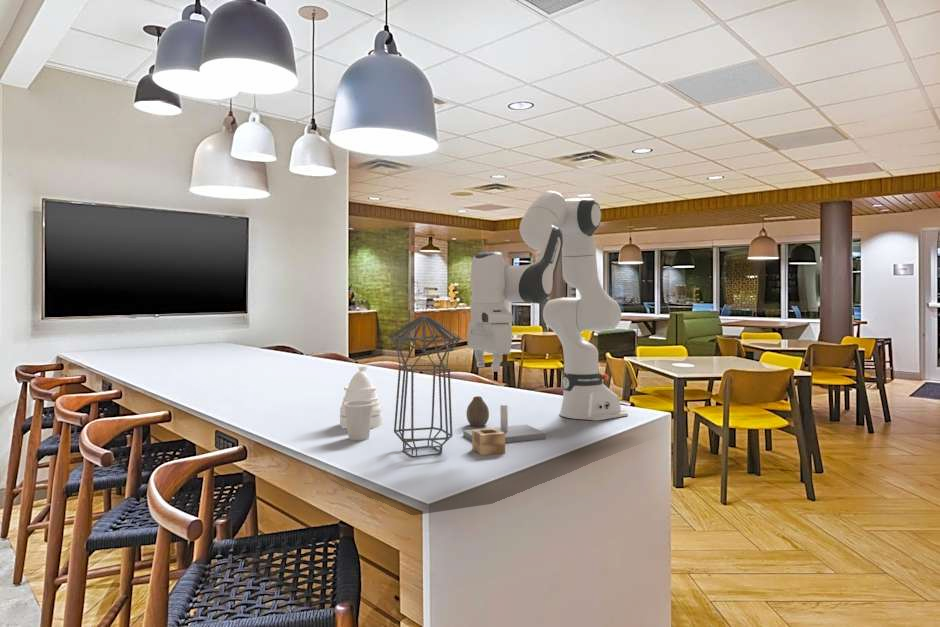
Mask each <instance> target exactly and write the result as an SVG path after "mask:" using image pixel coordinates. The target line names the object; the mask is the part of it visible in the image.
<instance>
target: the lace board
mask: <svg viewBox="0 0 940 627" xmlns="http://www.w3.org/2000/svg"><path fill="white" fill-rule="evenodd" d="M508 408H509V406H508V404H500V410H499V411H500V426H495V427H494V426H493V428H496V429H498V430H500V431H502V432H504V433H505V444H506V443H515V442H525V441H534V440H544V439H546V438H547V434H546V433H547V432H545V431H543V430H541V429H540V430H539V429H538V428H535V427H532V426H530V425H528V424H526V423H525V424H517V425H516V424H514V425H509V424H508V420H509V419H508V414H509V413H508V411H509V410H508ZM489 428H490V427H487V428H483V429H489ZM479 429H480V428H477V429H464V430H463V433H462V434H463V436H464V437H465V438H467V439H468V440H470V441H471V442H472V430H479Z"/></svg>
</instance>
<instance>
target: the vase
mask: <svg viewBox="0 0 940 627" xmlns="http://www.w3.org/2000/svg"><path fill="white" fill-rule="evenodd" d="M472 398H473V399H471V401H470V403H469V404H468V405H467V409H466V419H467V421H468V423H469V424H470V426H472V427H478V428H479V427H484V426H485V425H486V424H487V423H488V421H489V417H490V411H489V407H488V405H487V403H486V402H485V400H483V399H484V398H483V397H482V396H479V395H478V396H473V397H472Z"/></svg>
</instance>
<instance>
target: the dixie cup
mask: <svg viewBox="0 0 940 627" xmlns="http://www.w3.org/2000/svg"><path fill="white" fill-rule="evenodd" d="M373 404H374V403H373V402H372V401H367V400H355V401H348V402H345V403H344V404H343V405H344V407H345V414H346V422H347V429H346V430H347V436H348V440H350V439H351V440H350V441H356V440H358V441H365V440H369V439H370V434H371V433H370V432H371V429H370V426H371V417H372V408H373Z"/></svg>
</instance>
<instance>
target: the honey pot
mask: <svg viewBox="0 0 940 627" xmlns="http://www.w3.org/2000/svg"><path fill="white" fill-rule="evenodd" d="M367 369H368V366H366V365H359V366H358V371H357V372H356V373H355V374H354V375H353V376H352V378H351V380H350V382H349V383H348V385H346V386H344V387H343V390H344V391H345V393H344V396H343V398H342V399H343V400H342V402H341V406H340V409H339V426H341V427H340V428H342V427H344V428H343V429H345V428H347V422H346V414H345V407H344V405H343V404H344V403H345V402H348V401H355V400H367V401H372V402H373V403H374V404H373V408H372V417H371V426H370V430H371V429H375V428H379V427H381V426H382V425H383V413H382V412H383V411H382V410H383V409H382V406H381V404H380V403H381V401H380V400H379V396H378V394H377V391H376V390H377V388H378V387H377V386H376V385H374V384H373V382H372V380H371V379H370V377H369V375H368V374H367V373H366V371H367Z"/></svg>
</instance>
